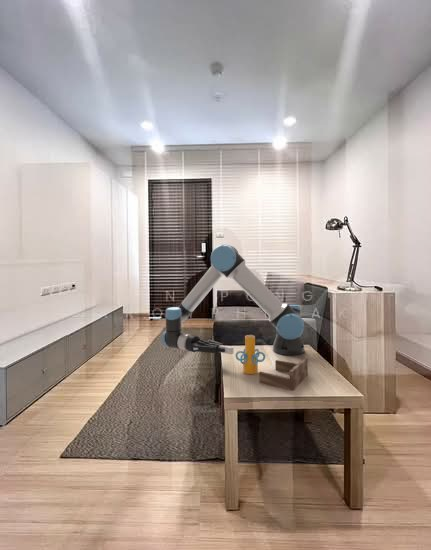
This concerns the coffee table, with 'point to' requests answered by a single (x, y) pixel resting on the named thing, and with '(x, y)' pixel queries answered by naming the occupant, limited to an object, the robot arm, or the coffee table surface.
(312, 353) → the coffee table surface
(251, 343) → the cylinder
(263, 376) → the pocket
